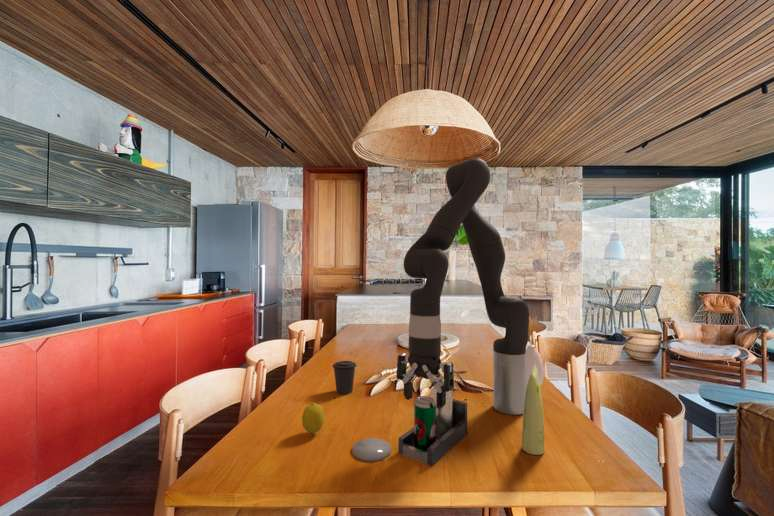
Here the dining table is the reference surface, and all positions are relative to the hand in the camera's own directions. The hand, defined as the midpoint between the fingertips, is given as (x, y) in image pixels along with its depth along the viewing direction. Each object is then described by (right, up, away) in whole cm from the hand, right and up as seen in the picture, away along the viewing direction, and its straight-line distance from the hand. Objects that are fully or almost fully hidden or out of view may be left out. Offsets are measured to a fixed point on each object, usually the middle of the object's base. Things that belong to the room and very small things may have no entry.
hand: (423, 403), depth 83 cm
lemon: (-28, -11, +8) cm, 31 cm away
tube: (+26, -11, 0) cm, 28 cm away
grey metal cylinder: (+5, -11, +7) cm, 14 cm away
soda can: (0, -11, 0) cm, 11 cm away
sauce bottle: (+41, -12, +39) cm, 58 cm away
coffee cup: (-23, -12, +37) cm, 45 cm away
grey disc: (-12, -11, 0) cm, 17 cm away
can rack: (+3, -11, +4) cm, 12 cm away
